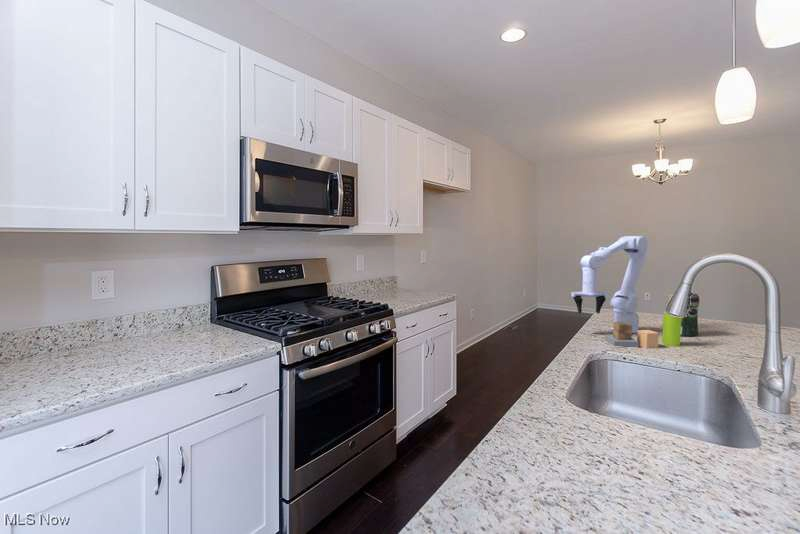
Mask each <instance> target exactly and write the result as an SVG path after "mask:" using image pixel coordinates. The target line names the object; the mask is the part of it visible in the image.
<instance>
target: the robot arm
mask: <svg viewBox="0 0 800 534" xmlns="http://www.w3.org/2000/svg"><path fill="white" fill-rule="evenodd" d="M648 247H649V241H648V240H647V238H646V236H645V235H624V236H622V237H619V238H618V240H617V241H615V242H613V243H612V244H610V245H609V246H608V247H605V246H603V247H601V246H600V247H598V249H597V250H596V251H594V252H593V251H592V252H591V253H590V254H588V255H584V256H582V258H581V259H580V261H579V265H580V267H581V271H582V290H581V291H571V297H572V298H573V300H574V302H575V304H576V308H577V312H578V313H579V314H582V308H583V307H582V304H583V298H582V297H585V298H595V313H597V314H600V313H601V309H602V307H603V304H604V303H605V301H606V299H607V298H608V294H609V293H608V292H606V291H598V269H599V268H600V267H601V265H602V264H603V263H604V262H607V261H608V260H610V259H612V255H613V254H615V253H617V252H621V251H622V250H623V252H624V253H625V254H627V255H628V257H629V261H628V265H627V268H626V270H625V274H624V278H623V280H622V284H621V287H620V290H617V291H616V292H615V293H614V295H613V296H612V298H611V299H610V304H609V305H610V307H611V308H612V311H613V313H614V315H613V322H626V323H628V324H631V325H632V334H638V330H640V329H639V328H640V327H639V325H640V323H639V322H640V318H639V314H638V313H637V312H636V310H637V308H638V300H639V298H638V297H637V295H636V294H635V291H636V287H637V284H638V281H639V278H640V274H641V271H642V268H643V264H644V261H645V257H646V253H647V250H648ZM609 329H610V330H612V331H613V327H609Z"/></svg>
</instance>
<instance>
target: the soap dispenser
mask: <svg viewBox="0 0 800 534" xmlns="http://www.w3.org/2000/svg"><path fill="white" fill-rule="evenodd" d="M672 295H673V294H670V295H669V298H670V299H671V297H672ZM665 311H666V310H665ZM665 311H664V310H663V314H662V315H663V316H662V317H663V319H662V337H661V339H662V340H661V343H662V345H665V346H669V347H679V346H681V335H680V332H681V318H679V317H673V316H670V315H668V314H666V312H665Z"/></svg>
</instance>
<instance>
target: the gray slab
mask: <svg viewBox="0 0 800 534" xmlns="http://www.w3.org/2000/svg"><path fill="white" fill-rule="evenodd" d="M606 341H607V342H608V343H607V342H606ZM604 342H606V343H607V344H609V343H610V344H612V345H613V346H621V347H620V348H627V347H638V348H639V342H638V341H637V339H634V338H631V340H618V339H616V338H615V337H613V334H612V335H609V334H605V335H604ZM610 344H609V345H610ZM612 345H611V346H612ZM613 346H612V347H613ZM622 346H623V347H622Z"/></svg>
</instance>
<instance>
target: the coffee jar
mask: <svg viewBox="0 0 800 534" xmlns="http://www.w3.org/2000/svg"><path fill="white" fill-rule="evenodd" d="M699 305H700V296H699V295H698V294H697V293H692V297H691V305H690V309H689V311H688V313H687V317H684V318H681V332H680V337H681V336H683V337H695V336H698V335H699V323H698V322H699V320H698V319H699V318H698V317H699V316H698V312H699V311H698V310H699Z"/></svg>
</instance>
